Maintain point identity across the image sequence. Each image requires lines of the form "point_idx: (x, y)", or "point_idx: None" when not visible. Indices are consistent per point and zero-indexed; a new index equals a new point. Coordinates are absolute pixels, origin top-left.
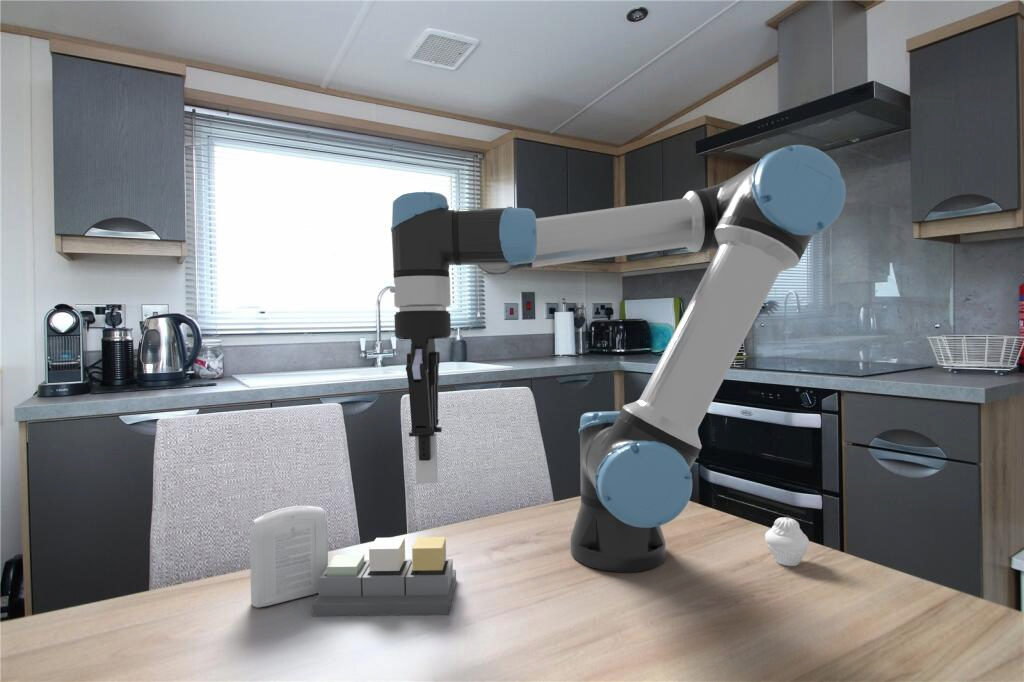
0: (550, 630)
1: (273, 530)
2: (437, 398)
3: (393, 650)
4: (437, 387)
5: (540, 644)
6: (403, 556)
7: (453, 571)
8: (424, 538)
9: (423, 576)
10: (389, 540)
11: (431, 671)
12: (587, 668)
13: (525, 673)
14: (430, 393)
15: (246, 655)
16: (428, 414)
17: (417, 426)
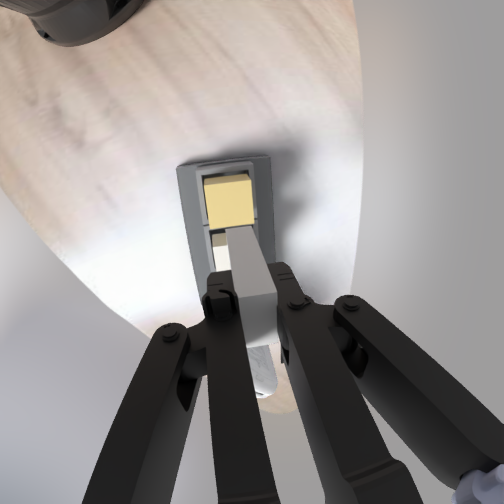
0: (294, 47)
1: (270, 376)
2: (138, 417)
3: (332, 194)
4: (120, 467)
5: (319, 59)
6: (222, 236)
7: (182, 170)
8: (213, 217)
9: (254, 195)
10: (226, 263)
11: (361, 154)
12: (351, 29)
13: (361, 77)
14: (375, 430)
15: (329, 302)
16: (408, 339)
17: (356, 345)
